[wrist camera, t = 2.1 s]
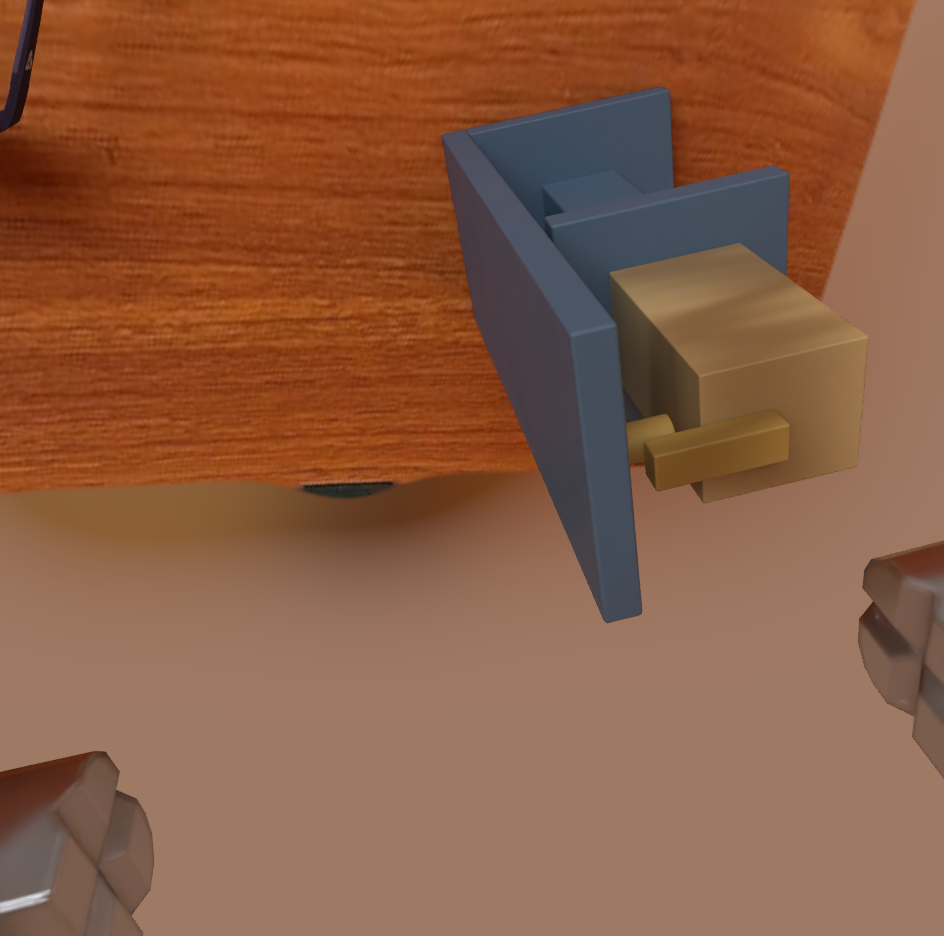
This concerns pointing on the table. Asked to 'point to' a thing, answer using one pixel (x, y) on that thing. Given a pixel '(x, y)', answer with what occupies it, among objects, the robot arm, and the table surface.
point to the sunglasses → (22, 65)
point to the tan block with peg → (737, 373)
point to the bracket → (588, 290)
